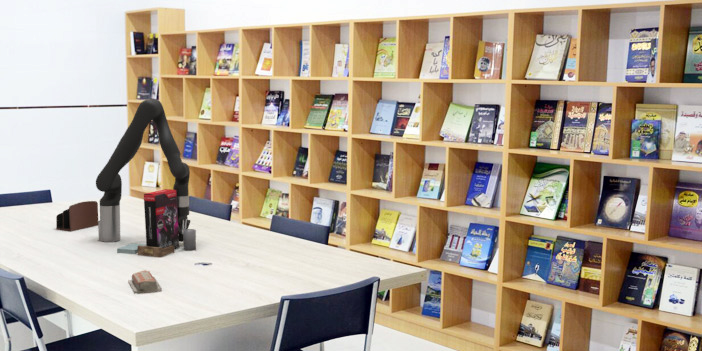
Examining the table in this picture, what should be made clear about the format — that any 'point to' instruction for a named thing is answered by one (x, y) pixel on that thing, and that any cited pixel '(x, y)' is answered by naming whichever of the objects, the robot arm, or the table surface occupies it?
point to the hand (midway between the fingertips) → (181, 241)
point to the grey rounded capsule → (189, 239)
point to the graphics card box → (161, 218)
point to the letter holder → (78, 217)
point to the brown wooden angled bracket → (155, 251)
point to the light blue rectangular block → (130, 248)
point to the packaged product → (144, 282)
